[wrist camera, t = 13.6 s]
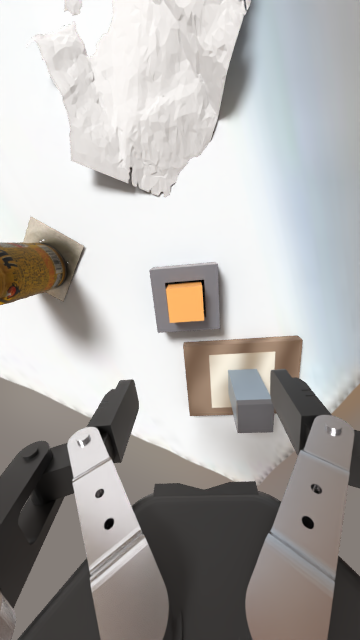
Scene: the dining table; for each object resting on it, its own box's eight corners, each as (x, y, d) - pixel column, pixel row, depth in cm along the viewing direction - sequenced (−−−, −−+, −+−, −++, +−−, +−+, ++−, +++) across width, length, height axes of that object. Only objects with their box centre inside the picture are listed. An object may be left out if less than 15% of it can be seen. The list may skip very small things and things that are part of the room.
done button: (201, 281, 27) (202, 286, 24) (202, 311, 28) (204, 320, 25) (169, 283, 27) (165, 289, 24) (172, 314, 29) (169, 322, 26)
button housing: (215, 261, 28) (217, 263, 25) (217, 320, 31) (220, 328, 28) (153, 267, 29) (149, 269, 26) (161, 324, 31) (157, 332, 28)
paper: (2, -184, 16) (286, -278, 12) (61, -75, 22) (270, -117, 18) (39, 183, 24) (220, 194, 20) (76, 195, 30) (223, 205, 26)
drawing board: (297, 335, 31) (303, 340, 29) (291, 405, 35) (295, 413, 33) (183, 342, 32) (183, 347, 30) (190, 409, 36) (189, 416, 34)
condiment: (14, 275, 30) (-93, 294, 19) (31, 216, 28) (-81, 196, 16) (64, 301, 31) (-10, 334, 20) (85, 246, 28) (13, 247, 17)
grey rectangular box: (256, 368, 31) (274, 403, 24) (255, 392, 32) (272, 432, 25) (227, 370, 31) (237, 405, 24) (228, 393, 33) (237, 432, 26)
